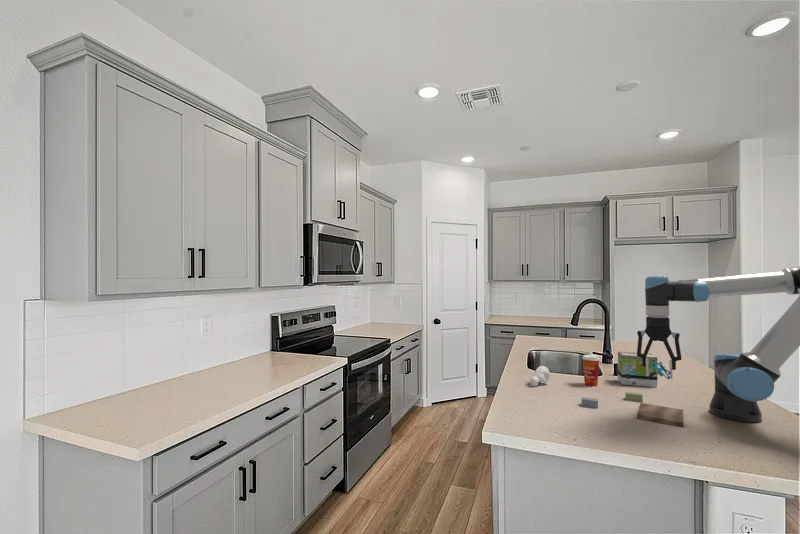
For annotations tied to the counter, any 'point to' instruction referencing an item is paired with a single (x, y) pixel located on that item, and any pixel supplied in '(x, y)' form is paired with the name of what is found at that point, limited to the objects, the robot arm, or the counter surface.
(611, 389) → the counter surface
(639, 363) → the tea box
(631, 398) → the olive block
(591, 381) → the paper cup
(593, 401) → the slate grey block
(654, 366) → the stick construction toy
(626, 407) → the counter surface
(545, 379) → the white lumpy piece
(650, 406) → the walnut board
